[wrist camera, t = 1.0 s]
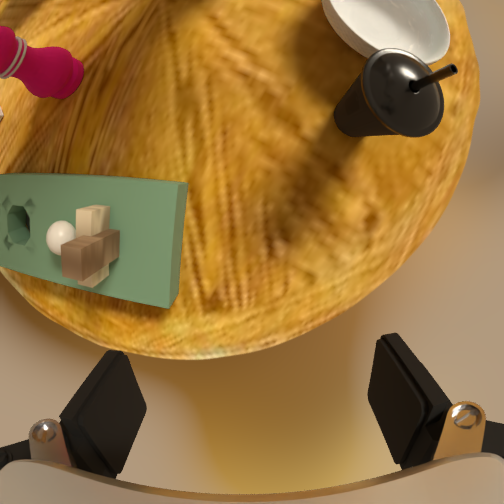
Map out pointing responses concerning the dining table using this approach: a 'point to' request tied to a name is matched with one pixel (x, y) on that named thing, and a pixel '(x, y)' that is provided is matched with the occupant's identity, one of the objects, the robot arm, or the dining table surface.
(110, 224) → the putting mat
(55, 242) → the ball
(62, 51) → the pepper mill
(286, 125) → the dining table surface
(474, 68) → the dining table surface
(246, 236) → the dining table surface
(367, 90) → the drinking cup
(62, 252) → the stacked wooden blocks
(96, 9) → the dining table surface
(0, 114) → the supplement box
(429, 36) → the cereal bowl
